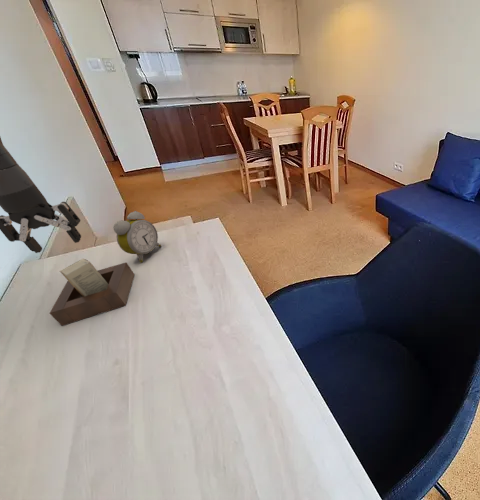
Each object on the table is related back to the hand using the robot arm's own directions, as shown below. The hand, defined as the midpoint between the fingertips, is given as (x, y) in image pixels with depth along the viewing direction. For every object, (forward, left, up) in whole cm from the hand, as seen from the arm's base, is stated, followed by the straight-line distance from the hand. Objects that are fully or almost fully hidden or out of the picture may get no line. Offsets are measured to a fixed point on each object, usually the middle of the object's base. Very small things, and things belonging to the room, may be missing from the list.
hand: (59, 246), depth 78 cm
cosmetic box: (0, 0, -19) cm, 19 cm away
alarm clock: (+10, +19, -19) cm, 29 cm away
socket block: (0, 0, -19) cm, 19 cm away
